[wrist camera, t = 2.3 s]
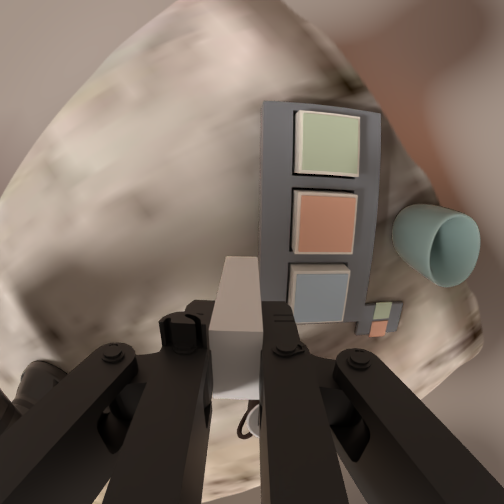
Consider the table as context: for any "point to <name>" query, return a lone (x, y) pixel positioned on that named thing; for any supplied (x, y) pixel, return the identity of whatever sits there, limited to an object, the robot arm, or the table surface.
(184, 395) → the robot arm
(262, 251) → the keypad
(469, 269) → the cup
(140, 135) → the table surface
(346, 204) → the key mid
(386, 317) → the tile
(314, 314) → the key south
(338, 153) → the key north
